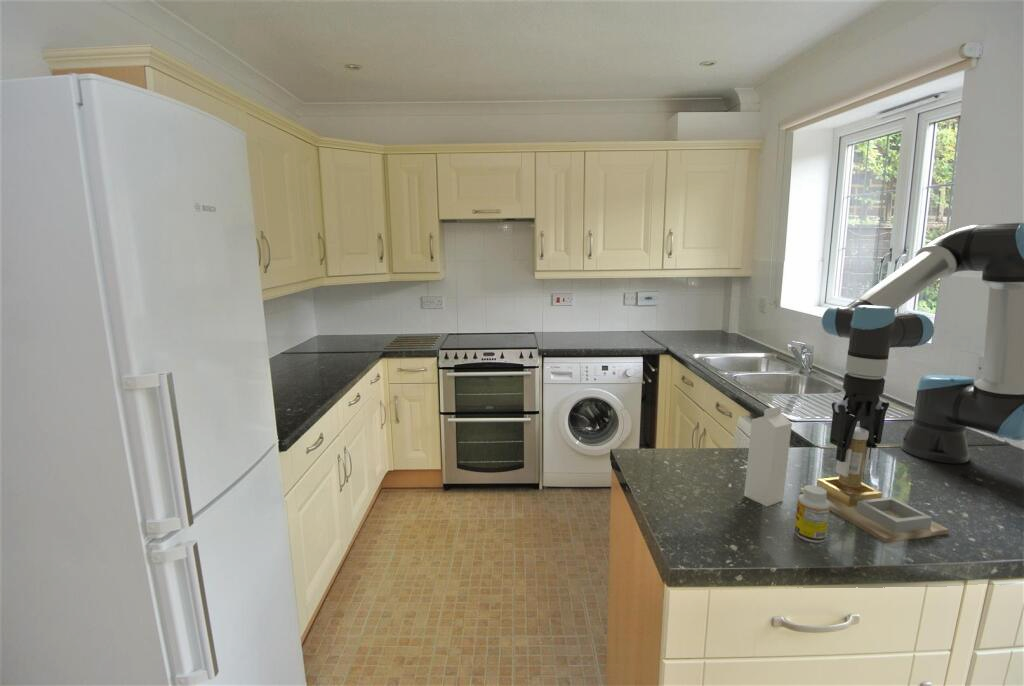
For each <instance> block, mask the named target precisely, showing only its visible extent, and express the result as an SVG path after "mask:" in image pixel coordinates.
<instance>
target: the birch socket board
mask: <svg viewBox="0 0 1024 686" xmlns="http://www.w3.org/2000/svg"><path fill="white" fill-rule="evenodd" d="M840 489H841V490H843V491H845V492H847V493H849V494H855V493H857V492H855V491H853V490H851V489H849V488H840ZM803 491H804V487H800V489H799V493H801V494H802V493H803ZM826 496H827V497H826V499H827V500H828V501H829V502H830V510H829V511H831V512H833V514H835V515H838V516H839V517H841V518H842V519H844V520H845V521H848V522H849V523H851V524H853V525H855V527H857V528H859V529H860V530H863V531H864V532H866V533H868V534H870V535H871V536H873V537H875V538H876V539H878V540H880V541H881V542H883V543H891V542H893V543H894V542H901V541H906V540H912V539H913V540H914V539H921V538H928V537H935V536H943V535H949V531H950V530H949V529H948V528H947V527H945V526H943V525H941V524H939V523H936V522H935V521H933V520H932V522H931V527H930V529H924V530H917V531H909V532H902V533H893V532H891V531H890V530H888V529H886V528H884V527H883V526H881V525H879V524H877V523H876V522H874V521H872V520H870V519H868V518H867V517H865V516H863V515H861V514H860V513H858V512H856V509H857V506H853V507H847V506H846V505H844V504H842V503H840V502H839V501H837V500H835V499H833V498H832V497H830V496H828V495H826ZM882 498H887V496H884V495H882ZM882 512H884V513H886V514H888V515H889V516H891V517H893V518H895V519H900V518H904V517H902V516H900V515H898V514H897V513H895V512H893V511H891V510H887V511H882Z"/></svg>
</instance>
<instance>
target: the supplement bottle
mask: <svg viewBox="0 0 1024 686" xmlns="http://www.w3.org/2000/svg"><path fill="white" fill-rule="evenodd" d="M803 488H804V491H803V494H802V493H801V494H799V495H798V497H797V504H796V505H797V506H796V514H795V521H794V533H795V535H796V536H797V537H798V538H800V539H802V541H803V540H804V541H806V542H808V543H809V542H810V543H815V544H819V543H823V542H824V541H826V539H827V533H828V527H829V525H828V524H829V517H830V511H831V510H830V502H829V501H828V500H827V499H826V497H827V496H826V495H827V491H826V490H825V489H823V488H821V487H818V486H817V485H814V484H813V485H809V484H807V485H805V486H804V487H803Z"/></svg>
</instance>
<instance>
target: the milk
mask: <svg viewBox="0 0 1024 686" xmlns="http://www.w3.org/2000/svg"><path fill="white" fill-rule="evenodd" d="M763 414H764V415H763V416H760V417H756V418H752V419H751V425H750V434H749V442H748V443H749V445H748V453H747V463H746V471H745V472H746V473H745V474H746V475H745V483H744V492H743V494H744V495H743V496H744V497H746V498H748V499H750V500H752V501H754V502H756V503H759V504H761V505H763V506H765V507H770V506H772V505H775V504H778V503H780V502H783V500H784V494H785V486H786V477H787V468H788V461H789V460H788V459H789V452H790V451H789V450H790V443H791V435H792V427H793V426H792V425H793V424H792V422H791V421H790V420H789V419H788V418H787V417H786V416H785V415H784V414H783V413H782V407H781V406H780V405H779V406H775V407H771V408H767V409H766V408H765V410H764V413H763Z"/></svg>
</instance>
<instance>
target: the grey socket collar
mask: <svg viewBox="0 0 1024 686" xmlns="http://www.w3.org/2000/svg"><path fill="white" fill-rule="evenodd" d="M887 510H891V511H893V512H895V513H897V514H898V515H900V516H902V517H904V518H900V519H895V518H893V517H891V516H889V515H888V514H886V513H884V512H882V511H887ZM856 512H858V513H860V514H861V515H863V516H865V517H867V518H868V519H870V520H872V521H874V522H876V523H877V524H879V525H881V526H883V527H884V528H886V529H888V530H890V531H891V532H893V533H902V532H909V531H917V530H924V529H930V527H931V522H932V521H933V517H932V516H930V515H928V514H926V513H924V512H922V511H920V510H918V509H916V508H914V507H912V506H910V505H908V504H906V503H905V502H902V501H900V500H898V499H896V498H894V497H892V496H890V497H889V496H886V498H878V499H869V500H861V501H858V502H857V509H856Z"/></svg>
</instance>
